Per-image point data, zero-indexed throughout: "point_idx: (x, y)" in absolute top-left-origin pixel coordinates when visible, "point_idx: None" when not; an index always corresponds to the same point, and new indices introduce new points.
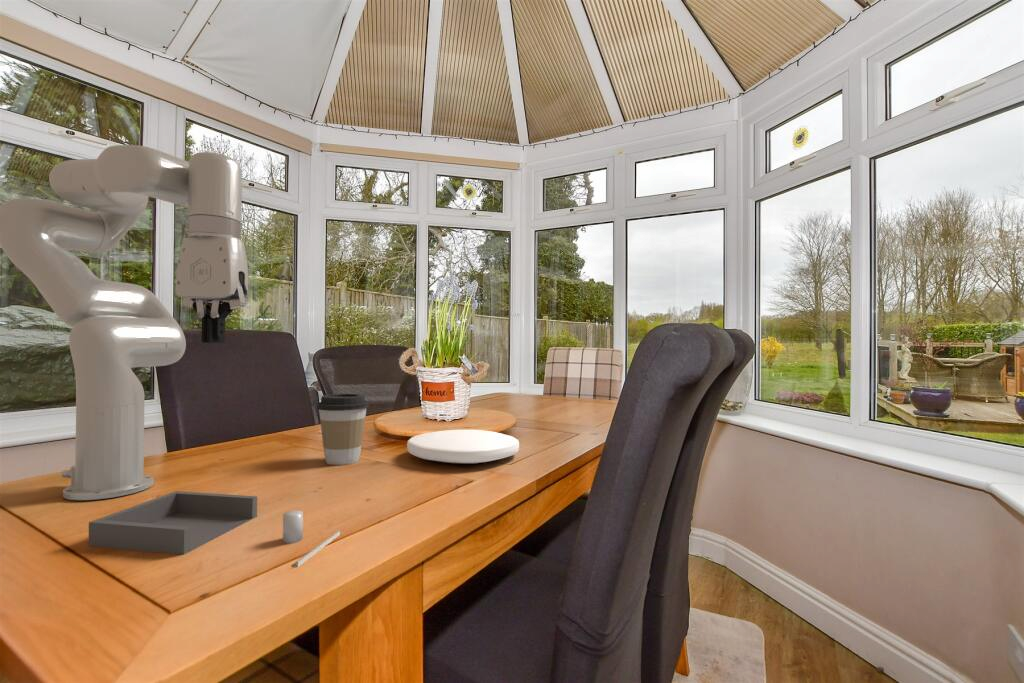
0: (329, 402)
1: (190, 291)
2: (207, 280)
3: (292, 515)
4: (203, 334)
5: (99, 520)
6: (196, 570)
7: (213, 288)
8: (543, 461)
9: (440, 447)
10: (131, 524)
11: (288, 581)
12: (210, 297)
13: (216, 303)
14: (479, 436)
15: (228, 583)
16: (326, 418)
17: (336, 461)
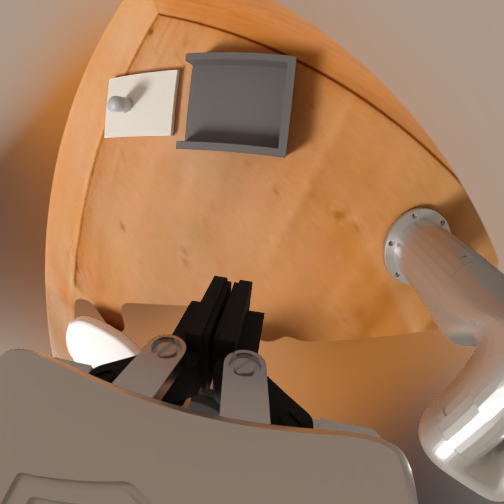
0: (203, 398)
1: (259, 461)
2: (55, 483)
3: (112, 99)
4: (237, 292)
5: (290, 61)
6: (177, 53)
7: (41, 406)
8: (60, 332)
9: (99, 332)
10: (246, 54)
11: (111, 61)
12: (101, 379)
13: (127, 385)
14: (86, 358)
15: (144, 47)
16: (212, 382)
17: None
